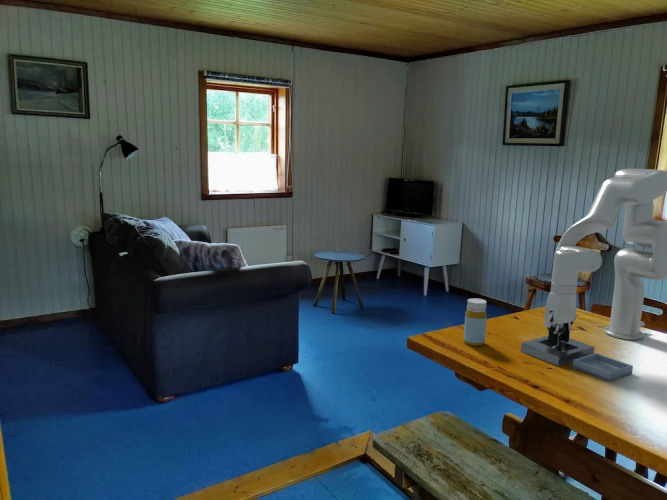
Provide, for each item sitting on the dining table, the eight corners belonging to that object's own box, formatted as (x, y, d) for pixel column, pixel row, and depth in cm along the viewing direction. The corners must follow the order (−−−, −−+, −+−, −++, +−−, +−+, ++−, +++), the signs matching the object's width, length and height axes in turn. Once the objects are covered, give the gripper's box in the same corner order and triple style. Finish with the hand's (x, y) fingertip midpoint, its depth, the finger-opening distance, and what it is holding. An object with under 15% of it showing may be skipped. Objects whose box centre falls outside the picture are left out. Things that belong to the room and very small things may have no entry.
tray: (595, 360, 164) (596, 352, 164) (632, 373, 155) (633, 365, 154) (572, 367, 159) (573, 359, 158) (609, 381, 149) (610, 373, 148)
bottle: (477, 348, 173) (480, 304, 170) (459, 342, 178) (462, 300, 175) (488, 343, 178) (491, 301, 175) (471, 337, 183) (474, 296, 180)
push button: (564, 357, 166) (565, 327, 164) (547, 355, 168) (547, 326, 166) (566, 350, 171) (567, 321, 170) (549, 348, 174) (549, 319, 172)
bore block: (555, 341, 180) (556, 333, 180) (593, 355, 168) (594, 346, 168) (520, 351, 171) (521, 342, 170) (558, 366, 159) (559, 357, 159)
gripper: (569, 282, 173) (564, 334, 177) (536, 289, 164) (531, 343, 168) (590, 287, 167) (584, 341, 170) (556, 294, 158) (551, 351, 162)
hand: (558, 342), depth 169 cm, fingers closed on push button, 5 cm apart
